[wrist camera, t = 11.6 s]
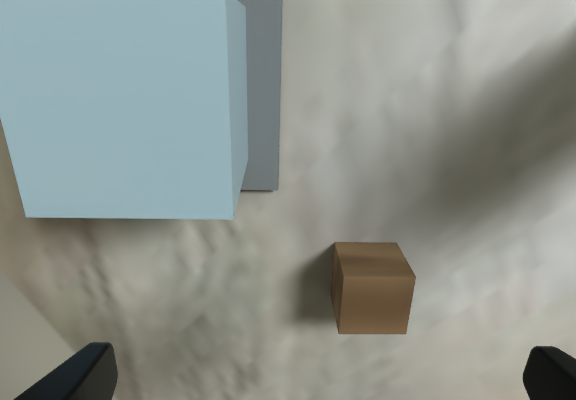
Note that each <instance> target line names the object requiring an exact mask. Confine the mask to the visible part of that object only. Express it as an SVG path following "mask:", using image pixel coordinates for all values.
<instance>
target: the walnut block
mask: <svg viewBox="0 0 576 400" xmlns="http://www.w3.org/2000/svg"><path fill="white" fill-rule="evenodd" d="M415 279H416V276H415V274H414V273H413V271H412V269H411V267H410V266H409V264H408V262H407V260H406V259H405V257H404V255H403V253H402V252H401V250H400V248H399V246H398V245H397V243H362V242H335V245H334V258H333V271H332V284H331V298H332V303H333V308H334V313H335V318H336V323H337V328H338V333H339V334H406V332H407V326H408V320H409V314H410V308H411V303H412V297H413V291H414V285H415Z"/></svg>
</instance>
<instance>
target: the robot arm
mask: <svg viewBox="0 0 576 400" xmlns="http://www.w3.org/2000/svg"><path fill="white" fill-rule="evenodd" d="M117 377H118V372H117V366H116V360H115V354H114V349H113V346H112V344H111V343H108V342H93V343H90V344H88V345H86V346H85V347H84V348H82V349H81V350H80V351H78V352H77V353H76V354H74V355H73V356H72V357H70V358H69V359H68V360H66V361H65V362H64V363H62V364H61V365H59V366H58V367H57V368H56V369H54V370H53V371H52V372H50V373H49V374H47V375H46V376H45V377H43V378H42V379H41V380H39V381H38V382H37V383H35V384H34V385H33V386H31V387H30V388H29V389H27V390H26V391H24V392H23V393H22V394H20V395H19V396H18V397H16V398H15V399H14V400H112V397H113V393H114V390H115V387H116V383H117ZM523 383H524V386H525V389H526V391H527V393H528V396H529V398H530V400H576V359H575V358H573V357H572V356H570V355H568V354H566V353H565V352H563V351H561V350H560V349H558V348H556V347H553V346H536V347H534V348H533V349H532V350H531V352H530V355H529V358H528V361H527V363H526V366H525V369H524V372H523Z"/></svg>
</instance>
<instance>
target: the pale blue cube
mask: <svg viewBox="0 0 576 400" xmlns="http://www.w3.org/2000/svg"><path fill="white" fill-rule="evenodd" d="M0 118H1V122H2V126H3V129H4V133H5V137H6V141H7V145H8V149H9V153H10V157H11V161H12V165H13V168H14V172H15V176H16V180H17V184H18V188H19V192H20V196H21V200H22V204H23V207H24V211H25V215H26V217H39V218H132V219H225V220H233V219H234V215H235V211H236V206H237V202H238V198H239V194H240V190H241V186H242V182H243V178H244V174H245V170H246V166H247V162H248V120H247V61H246V7H245V6H244V5H243V4H241V3H240V2H239V1H238V0H0Z"/></svg>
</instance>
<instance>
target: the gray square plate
mask: <svg viewBox="0 0 576 400" xmlns="http://www.w3.org/2000/svg"><path fill="white" fill-rule="evenodd" d="M238 1H239V2H240V3H241V4H243V5H244V6H245V7H246V61H247V120H248V162H247V166H246V170H245V174H244V178H243V182H242V186H241V190H278V177H279V131H280V86H281V40H282V0H238Z"/></svg>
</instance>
